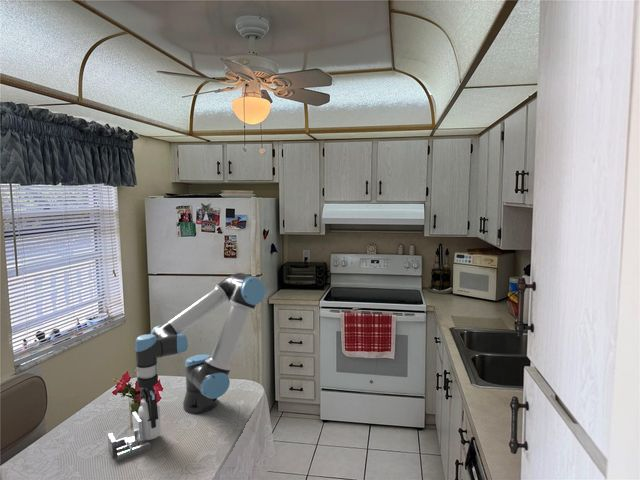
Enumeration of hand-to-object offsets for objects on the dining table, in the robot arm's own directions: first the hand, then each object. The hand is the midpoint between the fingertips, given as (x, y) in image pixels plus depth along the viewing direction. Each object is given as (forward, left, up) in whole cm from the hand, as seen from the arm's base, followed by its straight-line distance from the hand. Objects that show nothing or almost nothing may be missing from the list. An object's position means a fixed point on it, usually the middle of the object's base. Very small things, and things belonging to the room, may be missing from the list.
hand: (149, 429), depth 164 cm
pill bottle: (0, 0, -2) cm, 2 cm away
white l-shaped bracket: (+7, +2, -3) cm, 8 cm away
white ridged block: (+8, +2, -4) cm, 9 cm away
